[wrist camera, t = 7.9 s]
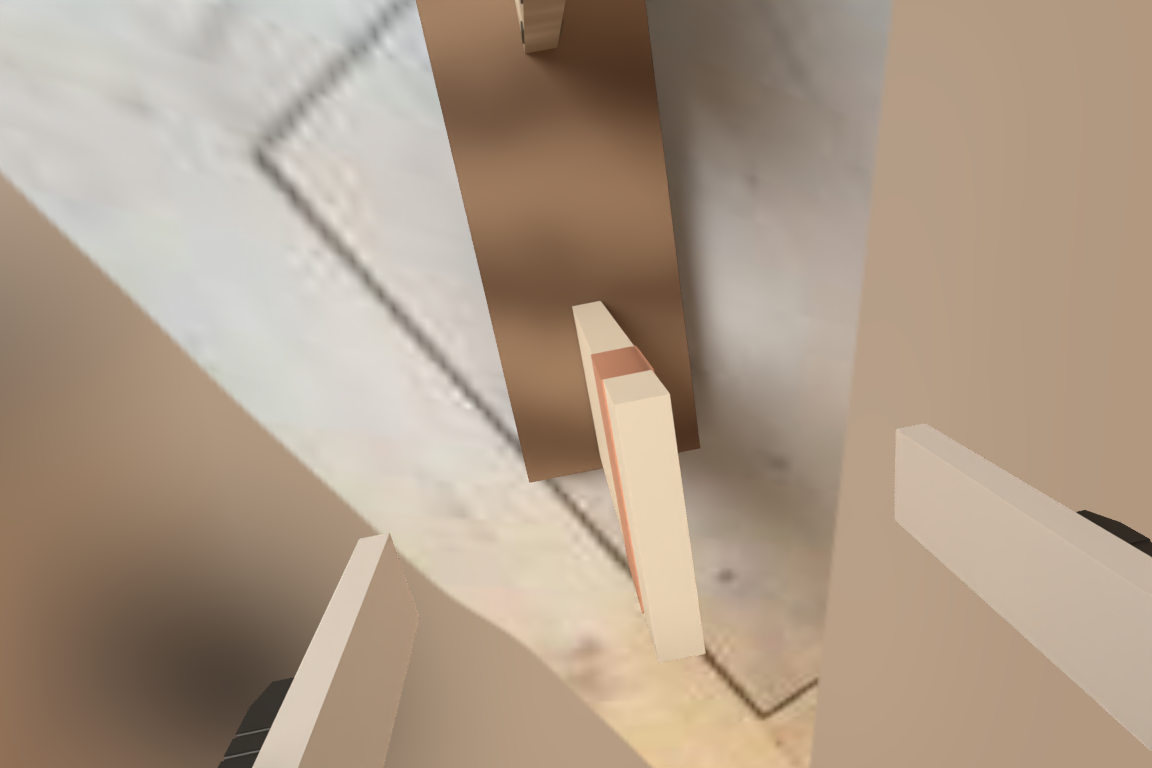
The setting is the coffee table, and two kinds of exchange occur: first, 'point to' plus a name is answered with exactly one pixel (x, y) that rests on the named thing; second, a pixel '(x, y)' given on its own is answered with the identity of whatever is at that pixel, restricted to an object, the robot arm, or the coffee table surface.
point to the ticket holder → (562, 201)
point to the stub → (642, 479)
